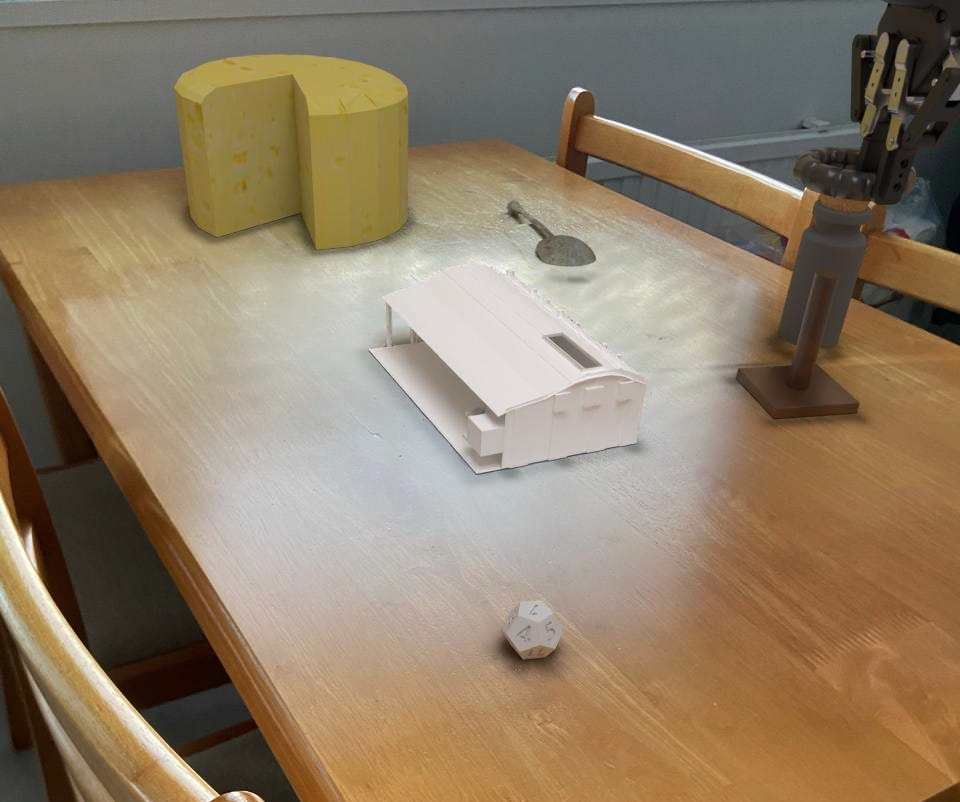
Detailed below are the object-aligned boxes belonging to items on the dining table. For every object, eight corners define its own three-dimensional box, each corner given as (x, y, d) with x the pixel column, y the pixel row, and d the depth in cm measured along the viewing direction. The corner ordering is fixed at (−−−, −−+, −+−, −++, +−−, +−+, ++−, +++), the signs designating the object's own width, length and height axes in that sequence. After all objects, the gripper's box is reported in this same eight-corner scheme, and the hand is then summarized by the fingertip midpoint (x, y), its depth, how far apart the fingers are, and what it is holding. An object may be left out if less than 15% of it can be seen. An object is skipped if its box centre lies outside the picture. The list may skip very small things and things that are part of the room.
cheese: (243, 264, 109) (227, 110, 99) (159, 195, 125) (138, 58, 115) (448, 230, 120) (452, 90, 111) (347, 171, 137) (342, 45, 127)
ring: (874, 170, 84) (881, 144, 82) (934, 204, 77) (942, 176, 76) (772, 170, 82) (777, 144, 81) (823, 205, 75) (831, 177, 74)
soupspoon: (546, 284, 110) (601, 284, 112) (551, 254, 108) (607, 253, 110) (488, 213, 126) (537, 213, 127) (491, 184, 123) (541, 185, 125)
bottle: (764, 335, 101) (802, 176, 91) (814, 330, 102) (857, 174, 93) (795, 360, 97) (839, 196, 87) (847, 354, 98) (896, 193, 88)
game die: (568, 640, 63) (573, 602, 61) (545, 675, 60) (550, 637, 58) (516, 623, 64) (519, 585, 62) (491, 657, 61) (494, 618, 59)
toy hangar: (365, 346, 94) (363, 272, 90) (505, 326, 99) (510, 255, 95) (478, 477, 77) (483, 393, 73) (640, 444, 82) (654, 364, 78)
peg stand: (814, 373, 94) (847, 254, 87) (856, 413, 89) (896, 289, 82) (735, 378, 93) (763, 257, 86) (774, 419, 87) (806, 293, 80)
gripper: (1073, -67, 61) (970, 226, 72) (944, -89, 72) (871, 170, 83) (965, -72, 60) (877, 228, 71) (849, -94, 70) (788, 171, 81)
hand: (874, 196), depth 77 cm, fingers closed on ring, 2 cm apart
